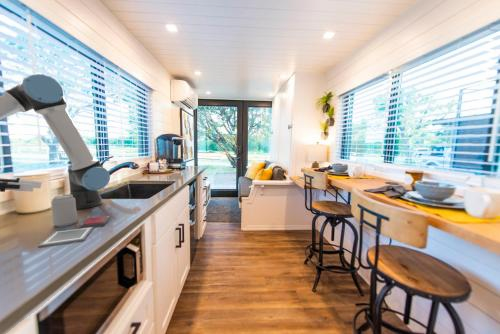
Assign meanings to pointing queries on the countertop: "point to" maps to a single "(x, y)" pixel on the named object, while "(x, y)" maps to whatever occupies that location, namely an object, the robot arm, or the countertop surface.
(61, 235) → the board
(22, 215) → the countertop surface
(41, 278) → the countertop surface
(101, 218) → the ink pad
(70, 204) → the grey upright rounded block
